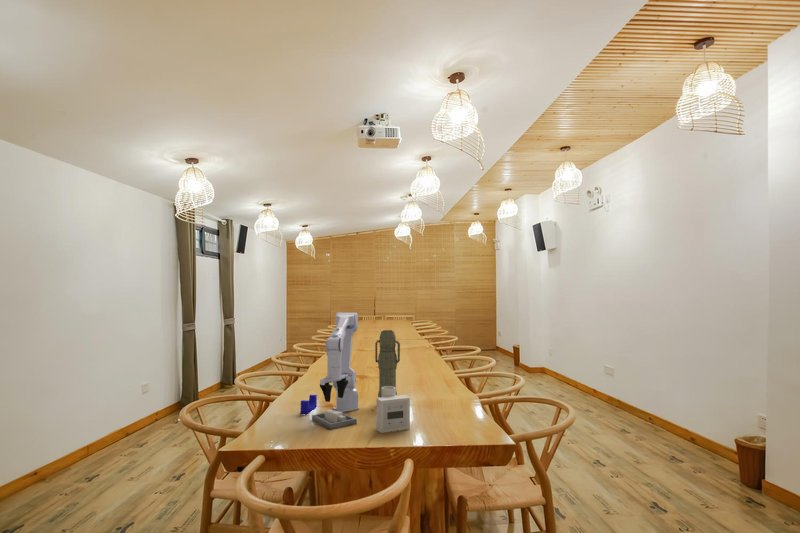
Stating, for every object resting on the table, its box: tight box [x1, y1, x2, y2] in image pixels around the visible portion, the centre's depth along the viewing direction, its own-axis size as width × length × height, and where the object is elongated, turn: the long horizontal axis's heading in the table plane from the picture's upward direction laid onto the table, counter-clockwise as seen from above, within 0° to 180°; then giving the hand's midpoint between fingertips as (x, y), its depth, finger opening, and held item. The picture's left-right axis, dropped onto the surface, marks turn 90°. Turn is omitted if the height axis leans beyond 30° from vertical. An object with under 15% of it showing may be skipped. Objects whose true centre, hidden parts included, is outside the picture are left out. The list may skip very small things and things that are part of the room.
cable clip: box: [300, 394, 318, 416], centre depth 200 cm, size 12×4×6 cm, turn 171°
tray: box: [311, 410, 358, 430], centre depth 183 cm, size 12×16×2 cm
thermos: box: [374, 329, 401, 398], centre depth 210 cm, size 9×12×35 cm
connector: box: [324, 409, 346, 423], centre depth 183 cm, size 10×4×4 cm, turn 54°
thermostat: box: [376, 386, 411, 434], centre depth 178 cm, size 12×14×15 cm
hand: (334, 399), depth 183 cm, fingers open, 7 cm apart
